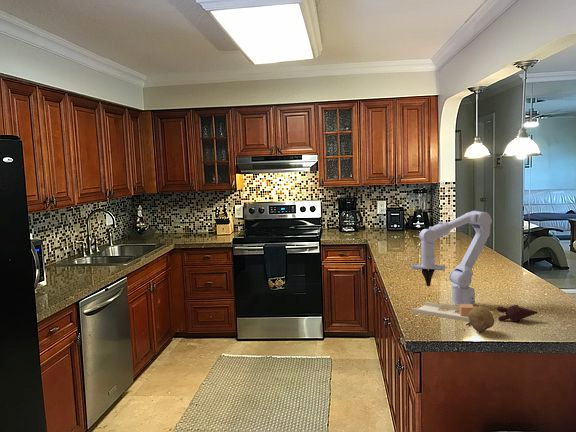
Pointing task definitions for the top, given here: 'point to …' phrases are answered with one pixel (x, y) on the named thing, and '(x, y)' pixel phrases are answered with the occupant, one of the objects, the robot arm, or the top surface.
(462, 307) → the block
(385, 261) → the top surface
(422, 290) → the top surface
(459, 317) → the lane
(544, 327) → the top surface
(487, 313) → the natural sponge
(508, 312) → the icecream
